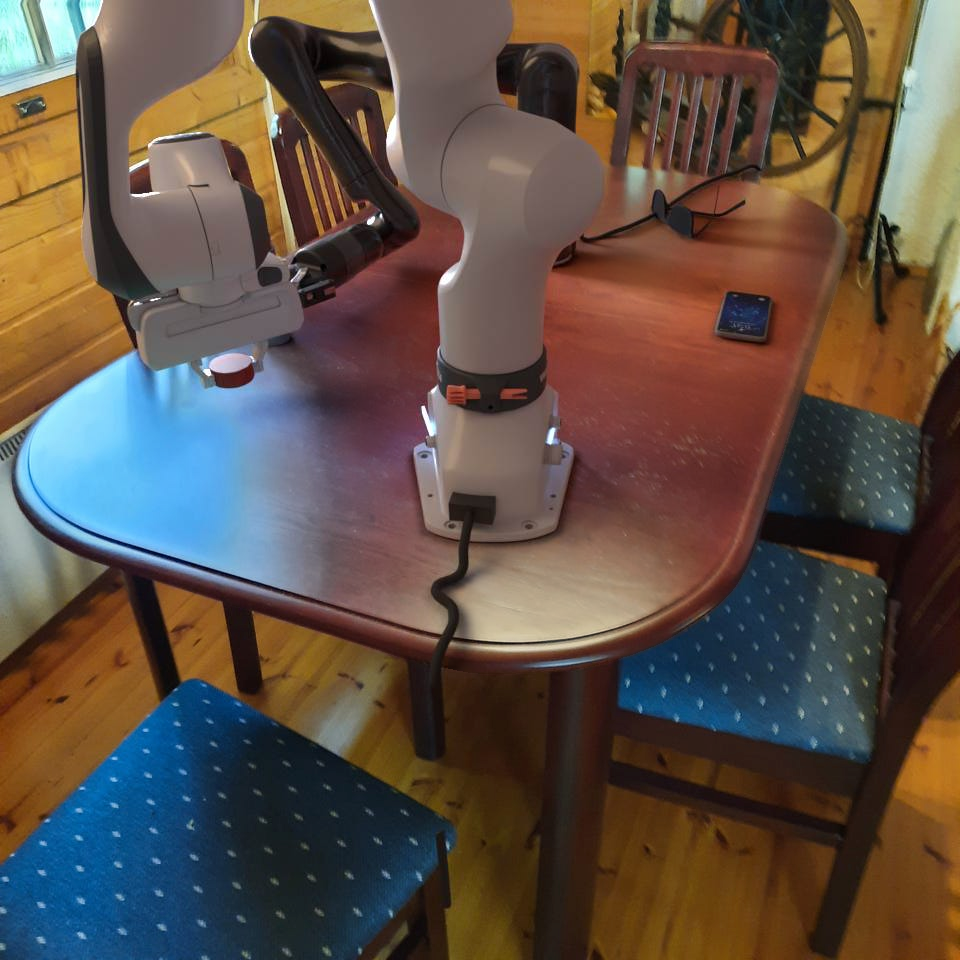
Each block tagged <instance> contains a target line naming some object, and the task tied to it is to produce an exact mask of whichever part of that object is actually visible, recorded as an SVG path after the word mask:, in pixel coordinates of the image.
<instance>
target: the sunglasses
mask: <svg viewBox="0 0 960 960" xmlns="http://www.w3.org/2000/svg"><path fill="white" fill-rule="evenodd" d="M720 187H721V185H720V184H718V187H717V192H716V197H715V198H716V199H715V204H714V210H713V213H710V212H703V211H697V210H691V209H690V208H689V207H687V206H686V205H681V204H674V205H673V206H671V207H669V205H668V204H669V203H668V201H667V197H666V195H665V193H664V192H663V190H661V188H660V189H659V188H657V189H655V190H654V191H653V193H652V194H653V195H652V200H651V205H650V207H649V208H650V211H651V214H652V213H654V212H656V214H657V215H656V216H655V217H654V218H656V219H657V220H659V221H660V222H662V223H664V224H665V225H667V226H668V227H669V228H670V229H671V230H673V231H674V232H675V233H677V234H679V235H681V236H683V237H686V238H689V239H695V238H698V237H699V236H700V235H701V234H702V233H703V232H704V231H705V230H706V229H707V228H708V227H709V226H710V224H711V223H712V221H713V219H714V218H720V217H724V216H726V215H729V214H730V213H732V212H734V211H736V210H738V209H740V208H741V207H744V206H745V205H746V199H745V198H744V199H742V200H741V201H740V202H738V203H736V204H735V205H734V206H732V207H731V208H728V209H727V210H726V211H724V212H721V213H716V210H717V205H718V199H719V192H720ZM694 215H696V216H702V217H709V220H708V221H707V222H706V224H705V225H704V226H703V227H702V228H701V229H699V231H697V232H696V233H695V232H694V229H695V216H694Z"/></svg>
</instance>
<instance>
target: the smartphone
mask: <svg viewBox="0 0 960 960" xmlns="http://www.w3.org/2000/svg"><path fill="white" fill-rule="evenodd" d="M773 302H774V301H773V298H772V297H771V296H769V295H763V294H756V293H749V292H743V291H734V290H729V291H726V292H725V293H724V295H723V299H722V301H721V306H720V310H719V312H718V317H717V319H716V322H715V328H714V334H715V335H716V336H717V337H718V338H719V337H720V338H725V339H732V340H739V341H747V342H754V343H764V342H765V341H767V338H768V333H769V328H770V318H771V313H772V307H773Z"/></svg>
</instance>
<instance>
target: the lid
mask: <svg viewBox="0 0 960 960" xmlns="http://www.w3.org/2000/svg"><path fill="white" fill-rule="evenodd" d="M208 369H210V371H211V372H212V373H213V374H214V375H215V382H216V386H215V387H217V388H220V389H229V390H230V389H237V388H240V387H244V386H247V385H248V384H250V383H251V382H252V381H253V380H254V378H255V374H256V373H254V370H253V365H252V361H251V358H250V355H247V354H245V353H238V352H232V353H226V354H221V355H218V356H216V357H215V358H213V359H212V360H210V362H209V364H208Z"/></svg>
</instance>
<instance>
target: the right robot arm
mask: <svg viewBox="0 0 960 960" xmlns="http://www.w3.org/2000/svg"><path fill="white" fill-rule="evenodd" d="M248 35H249V36H248V51H249V55H250V59H251V61H252V64H254V66H255V68H256V69H257V70H258V72H260V74H261V75H262V76H263V78H264V79H265V80H266V81H267V82H268V84H270V86H271V87H272V88H273V89H274V90H275V92H276V93H277V94H278V95H279V97H280V98H281V99H282V100H283V101H284V102H285V103H286V105H287V106H288V108H289V109H290V110H291V112H292V113H293V114H294V116H295V117H296V118H297V120H298V121H299V122H300V124H301V126H302V127H303V128H304V130H305V131H306V133H307V134H308V136H309V137H310V139H311V141H312V142H313V144H314V145H315V147H316V148H317V150H318V151H319V153H320V155H321V157H322V158H323V159H324V161H325V163H326V164H327V166H328V167H329V170H330V171H331V172H332V174H333V176H334V177H335V179H336V181H337V183H338V184H339V186H340V187H341V189H342V191H343V193H344V194H345V196H346V197H347V199H348V200H349V201H350V202H351V203H353V204H356V205H357V204H362V203H365V202H369V203H371V204H372V205H373V206H374V207H375V208H376V209H377V210H378V211H376V212H374V213H373V214H372V215H370V216H369V217H367V218H366V219H364V220H362V221H360V222H357V223H356V222H355V223H353V224H350V225H349V226H346V227H345V228H343V229H341V230H339V231H337V232H334V233H331V234H328V235H326V236H324V237H322V238H319V239H318V240H316V241H315V242H312V243H310V244H308V245H306V246H305V247H303V248H301V249H299V250H298V251H297V252H296V253H295V254H294V255H293V257H292V261H291V262H290V264H288V265H287V264H286V265H287V266H288V267H289V270H290V278H289V281H290V282H291V283H293V284H294V286H295V287H296V289H297V291H298V294H299V297H300V301H301V305H302V309H307V308H310V307H313V306H315V305H318V304H320V303H324V302H326V301H329V300H332V299H334V298H336V297H337V293H336V289H338V288H340V287H341V286H343V285H345V284H347V283H349V282H350V281H351V280H353V279H354V278H355V277H356V276H358V275H359V274H360V273H362V272H364V271H365V270H367V269H368V268H370V267H372V266H373V265H374V264H376V263H377V262H379V261H380V260H383V259H385V258H387V257H389V256H390V255H392V254H394V253H395V252H397V251H400V250H401V249H402V248H404V247H405V246H407V245H409V244H411V243H412V242H414V241H415V240H417V238H418V237H419V236H420V234H421V230H422V222H421V218H420V213H419V212H418V210H417V209H416V207H415V206H414V204H413V203H412V202H411V201H410V200H409V199H408V198H407V197H406V196H405V195H404V193H402V191H400V190H399V189H398V188H397V187H396V186H395V184H393V183H392V181H390V179H388V178H387V177H386V176H385V174H384V173H383V172H382V170H381V168H380V166H379V165H378V163H377V161H376V160H375V158H374V157H373V155H372V152H370V150H369V148H368V146H367V144H366V143H365V142H364V140H363V139H362V137H361V136H360V134H359V133H358V131H357V130H356V129H355V127H353V125H352V124H351V123H350V122H349V121H348V119H347V118H346V117H345V116H344V115H343V114H342V112H341V111H340V110H339V108H338V107H337V106H336V104H335V103H334V102H333V100H332V99H331V98H330V96H329V94H328V93H327V91H326V90H325V88H324V87H323V85H322V83H321V82H333V83H334V82H337V83H339V82H340V83H349V84H353V85H358V86H361V87H365V88H369V89H372V90H376V91H380V92H385V93H389V94H394V87H393V80H392V75H391V70H390V65H389V61H388V57H387V54H386V51H385V48H384V45H383V42H382V39H381V36H380V33H379V30H378V29H377V30H375V29H373V30H366V31H365V30H364V31H342V30H341V31H340V30H335V29H330V28H325V27H320V26H316V25H312V24H308V23H304V22H302V21H298V20H295V19H292V18H289V17H285V16H280V15H268V16H265V17H263V18H260V19H258V20H257V21H256V22H255V24H253V26H252V27H251V30H250V32H249V34H248ZM580 73H581V72H580V65H579V61H578V60H577V58H576V55H575V54H574V53H573V52H572V51H571V50H570V49H569V48H567V47H566V46H565V45H562V44H560V43H557V42H520V43H519V42H512V43H511V42H507V44H506V45H505V47H504V48H503V50H502V51H501V52H500V54H499V55H498V56H497V59H496V77H497V85H498V89H499V92H500V95H507V96H511V97H516V110H519V111H523V112H526V113H530V114H533V115H537V116H540V117H543V118H547V119H551V120H553V121H556V122H558V123H559V124H561V125H562V126H564V127H565V128H567V129H569V130H570V131H572V132H573V133H575V134H576V135H577V107H578V90H579V89H578V87H579V82H580V75H581V74H580ZM749 169H755V170H756V171H758V172H760V171H762V169H761V167H760V166H759V165H757V164H755V163H750V164H746V165H744V166H742V167H740V168H736V169H734V170H731V171H728V172H725V173H721V174H718V175H716V176H714V177H712V178H709V179H707V180H704V181H702V182H700V183H698V184H697V185H694V186H693V187H691V188H689V189H688V190H686V191H685V192H683V193H682V194H680V195H678V196H677V197H676V198H674V199H673V200H671V201H670V202H669V203H668V205H669V207H671V208H672V207H673V206H675V205H677V203H679V202H680V201H682V200H683V199H684V198H686V197H688V196H689V195H691V194H693V193H694V192H695V191H698V190H700V189H701V188H703V187H705V186H707V185H709V184H711V183H714V182H717V181H718V180H722V179H724V178H727V177H731V176H734V175H738V174H740V173H742V172H743V171H746V170H749ZM656 215H657V214H656V212H654V213H652V212H651V213H650V214H648V215H647V216H644V217H641V218H640V219H638V220H636V221H634V222H631V223H628V224H626V225H623V226H620V227H617V228H613V229H611V230H608V231H606V232H604V233H602V234H599V235H597V236H593V237H586V236H585V233H584V234H583V235H582V236H581V237H580V238H579V240H580V241H581V242H584V243H588V242H591V241H597V240H602V239H605V238H608V237H610V236H613V235H615V234H619V233H622V232H624V231H628V230H630V229H633V228H634V227H637V226H639V225H641V224H644V223H646V222H648V221H650V220H651V219H653V218H656V217H655V216H656ZM576 252H577V240H576V241H575V242H573V243H572V244H570V245H568V246H567V247H565V248H564V249H563V250H562V251H561V252H560V253H559V255H558V257H557V258H556V260H555V262H554V265H553V267H557V266H561V265H564V264H567V263H568V262H570V261H571V260H572V258H573V257H576V255H577V253H576ZM311 296H312V297H311ZM309 297H311V298H310V299H309Z"/></svg>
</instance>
